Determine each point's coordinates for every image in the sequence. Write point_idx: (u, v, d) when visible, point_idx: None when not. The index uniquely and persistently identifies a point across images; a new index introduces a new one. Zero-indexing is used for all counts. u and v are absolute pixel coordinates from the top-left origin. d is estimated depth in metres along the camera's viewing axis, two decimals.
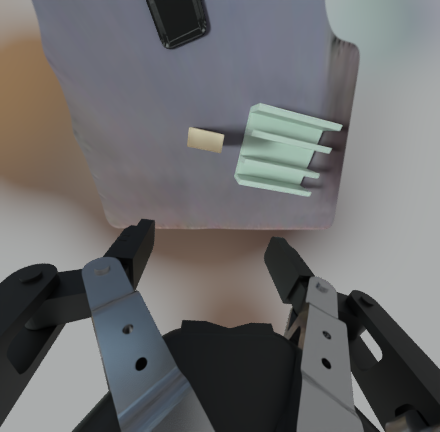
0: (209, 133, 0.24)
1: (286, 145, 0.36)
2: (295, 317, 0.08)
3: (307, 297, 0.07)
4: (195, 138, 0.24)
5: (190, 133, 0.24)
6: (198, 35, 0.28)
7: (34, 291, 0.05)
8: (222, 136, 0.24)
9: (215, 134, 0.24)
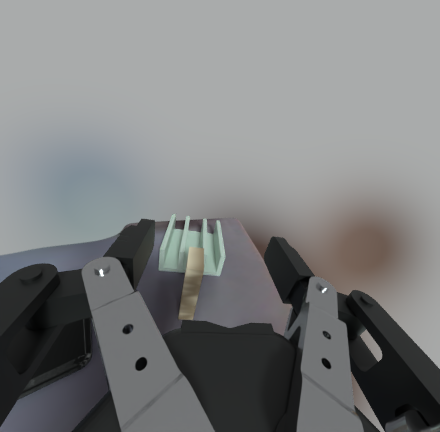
0: (189, 255, 0.27)
1: (186, 243, 0.46)
2: (295, 317, 0.08)
3: (307, 297, 0.07)
4: (195, 264, 0.25)
5: (191, 267, 0.24)
6: (90, 319, 0.26)
7: (34, 291, 0.05)
8: (190, 247, 0.28)
9: (189, 251, 0.27)
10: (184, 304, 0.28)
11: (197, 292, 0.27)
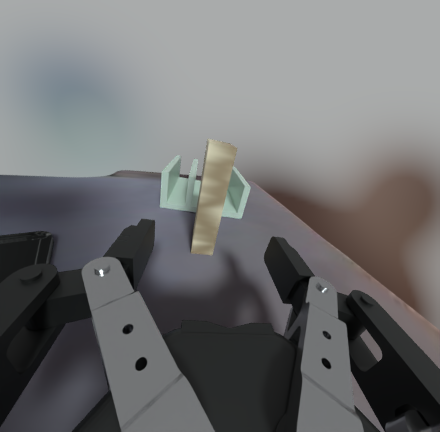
0: (210, 140, 0.17)
1: (195, 188, 0.36)
2: (295, 317, 0.08)
3: (307, 297, 0.07)
4: (222, 144, 0.15)
5: (217, 143, 0.15)
6: (51, 240, 0.16)
7: (34, 291, 0.05)
8: (209, 139, 0.18)
9: (209, 139, 0.18)
10: (201, 223, 0.18)
11: (223, 198, 0.17)
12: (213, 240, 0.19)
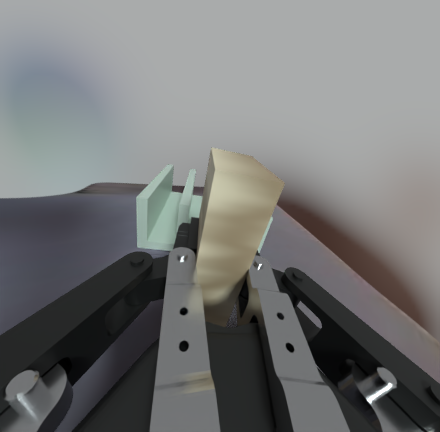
0: (216, 154, 0.08)
1: (191, 209, 0.27)
2: (242, 299, 0.09)
3: (251, 281, 0.07)
4: (245, 168, 0.07)
5: (235, 171, 0.06)
6: None
7: (144, 272, 0.07)
8: (215, 149, 0.10)
9: (215, 151, 0.09)
10: None
11: (241, 276, 0.08)
12: None
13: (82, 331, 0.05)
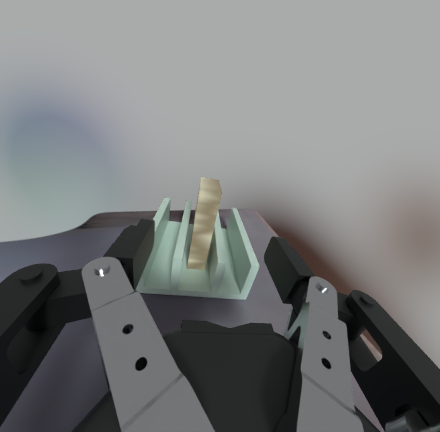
0: (202, 181, 0.21)
1: (187, 243, 0.29)
2: (295, 317, 0.08)
3: (307, 297, 0.07)
4: (210, 187, 0.20)
5: (206, 189, 0.19)
6: None
7: (34, 291, 0.05)
8: (202, 177, 0.23)
9: (202, 179, 0.22)
10: (194, 245, 0.22)
11: (212, 228, 0.21)
12: (205, 258, 0.23)
13: None
